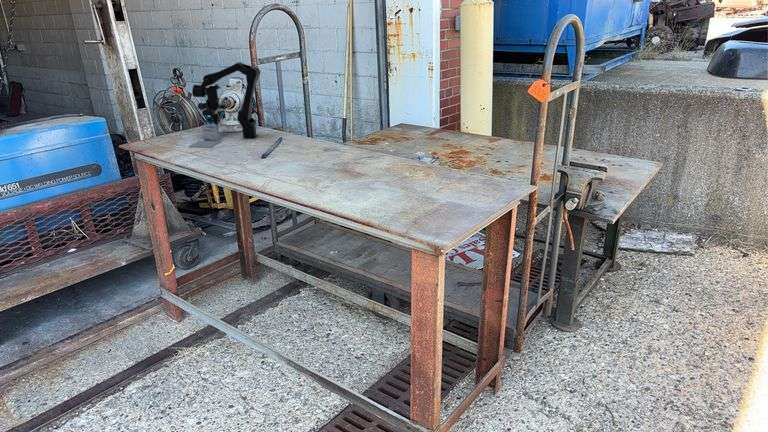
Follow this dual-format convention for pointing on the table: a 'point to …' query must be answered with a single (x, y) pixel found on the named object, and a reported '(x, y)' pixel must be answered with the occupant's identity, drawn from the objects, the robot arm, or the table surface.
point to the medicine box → (211, 132)
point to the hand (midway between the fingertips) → (216, 124)
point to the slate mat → (205, 144)
